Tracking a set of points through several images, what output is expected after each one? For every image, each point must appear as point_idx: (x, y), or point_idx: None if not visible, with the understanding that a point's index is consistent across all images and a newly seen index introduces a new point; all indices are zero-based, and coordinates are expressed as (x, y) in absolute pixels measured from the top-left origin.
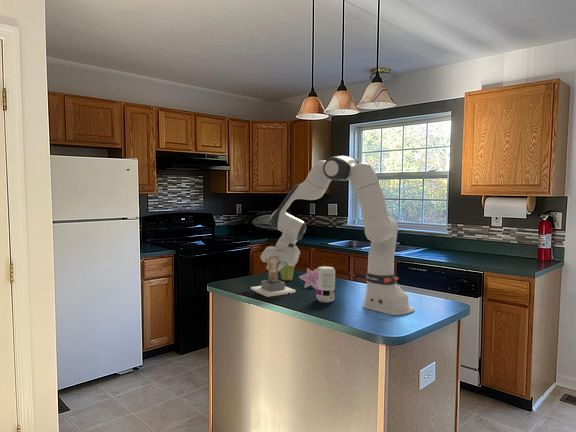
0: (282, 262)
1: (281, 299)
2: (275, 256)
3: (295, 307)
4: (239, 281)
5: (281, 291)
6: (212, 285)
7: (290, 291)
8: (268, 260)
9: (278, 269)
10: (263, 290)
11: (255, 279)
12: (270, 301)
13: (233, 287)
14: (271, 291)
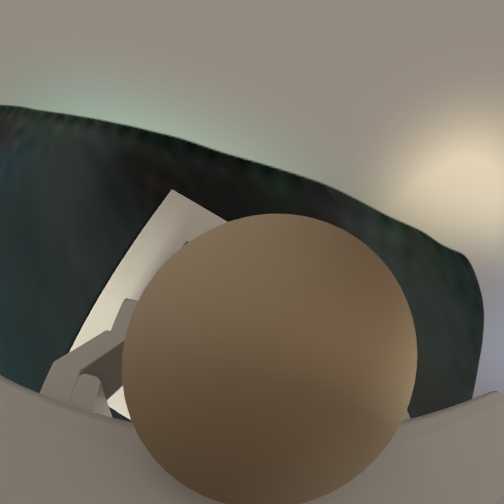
0: (57, 393)
1: (86, 191)
2: (280, 480)
3: (22, 128)
4: (447, 393)
5: (120, 295)
6: (470, 267)
7: (78, 336)
8: None
9: (124, 311)
10: None
11: None
12: (127, 139)
13: (418, 285)
14: None
